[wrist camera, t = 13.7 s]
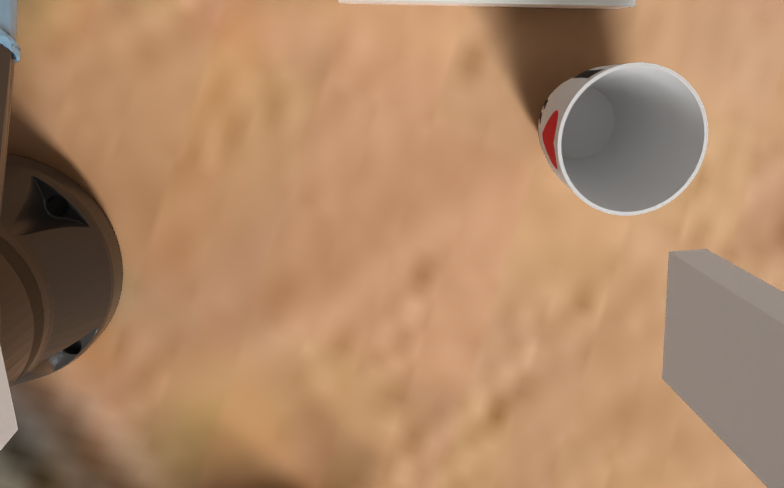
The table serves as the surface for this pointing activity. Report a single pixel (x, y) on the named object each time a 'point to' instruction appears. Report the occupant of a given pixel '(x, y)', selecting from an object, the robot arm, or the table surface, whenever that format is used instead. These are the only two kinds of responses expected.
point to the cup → (624, 136)
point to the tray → (509, 3)
